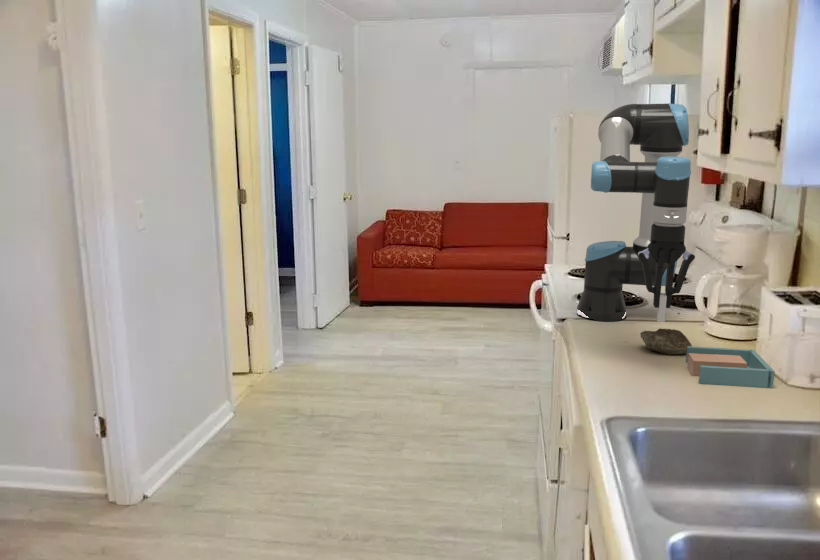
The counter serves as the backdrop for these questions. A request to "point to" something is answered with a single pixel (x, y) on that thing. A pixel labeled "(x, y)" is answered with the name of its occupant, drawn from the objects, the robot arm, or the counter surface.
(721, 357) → the tile
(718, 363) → the tile
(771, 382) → the tray
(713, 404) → the counter surface
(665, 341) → the stone
